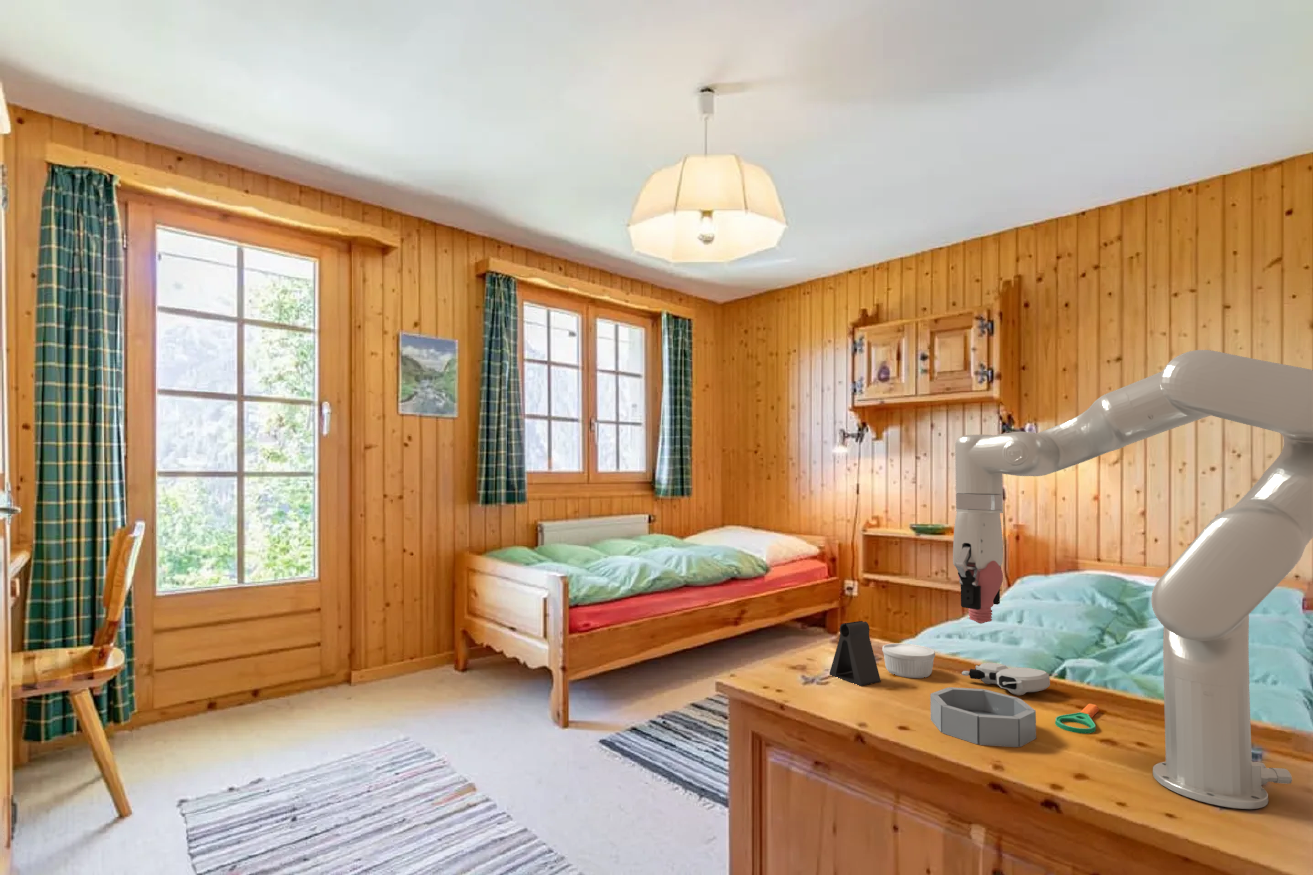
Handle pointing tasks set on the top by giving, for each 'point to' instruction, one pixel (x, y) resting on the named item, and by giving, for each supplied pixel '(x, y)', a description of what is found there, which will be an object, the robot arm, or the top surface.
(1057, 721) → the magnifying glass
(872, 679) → the phone stand
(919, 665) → the ramekin
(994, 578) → the light bulb
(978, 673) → the robot toy
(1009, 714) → the ceramic bowl
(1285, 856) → the top surface
